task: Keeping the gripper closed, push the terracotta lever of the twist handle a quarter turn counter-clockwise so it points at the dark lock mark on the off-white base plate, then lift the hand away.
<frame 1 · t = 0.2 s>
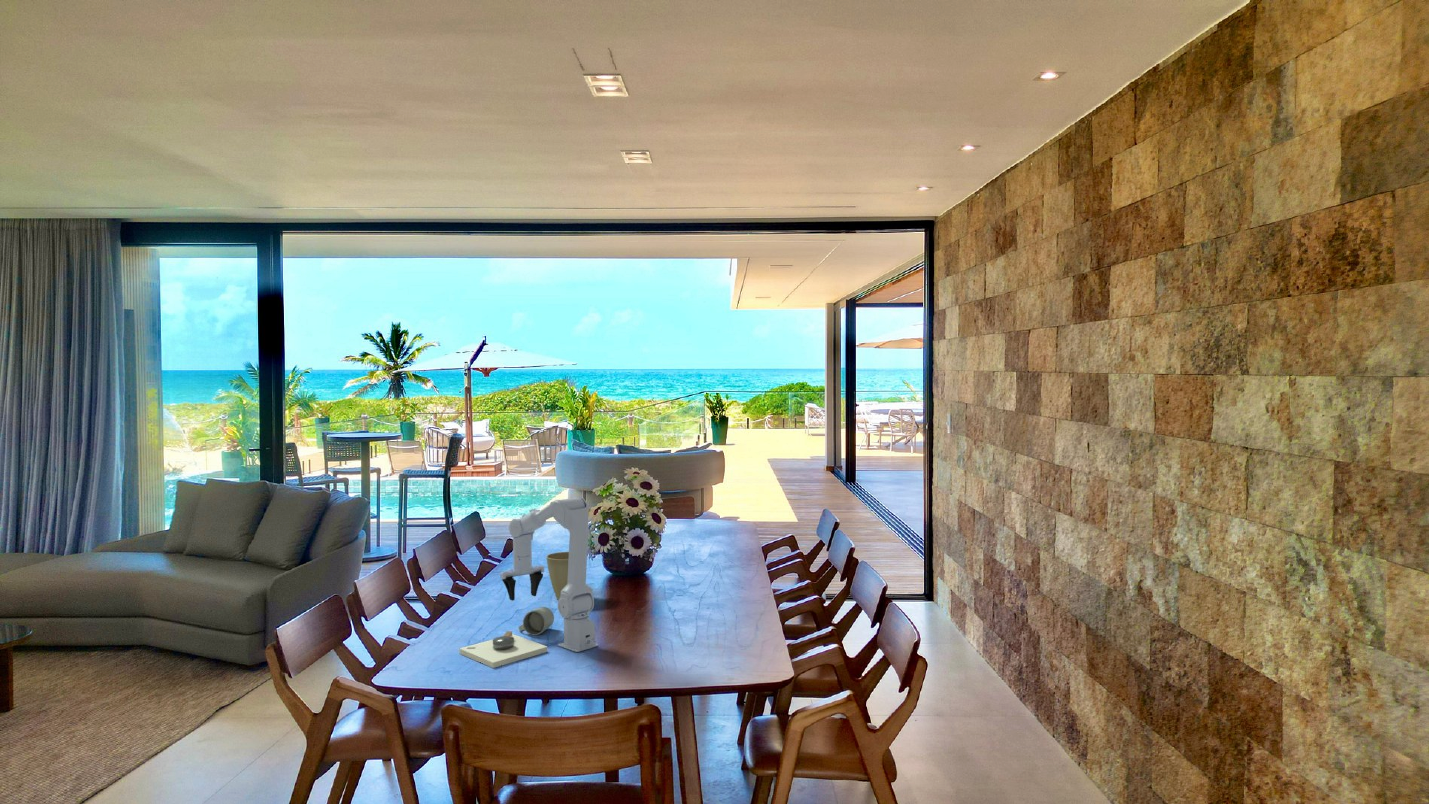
hand: (522, 597, 249), 10 cm above the table, tool pointing down, fingers open, 7 cm apart
plant pot: (567, 598, 286), on the table
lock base: (503, 652, 226), on the table
twist handle: (505, 640, 229), point 3 cm above the table, hinge at 0.0°
ceramic mug: (535, 632, 247), on the table
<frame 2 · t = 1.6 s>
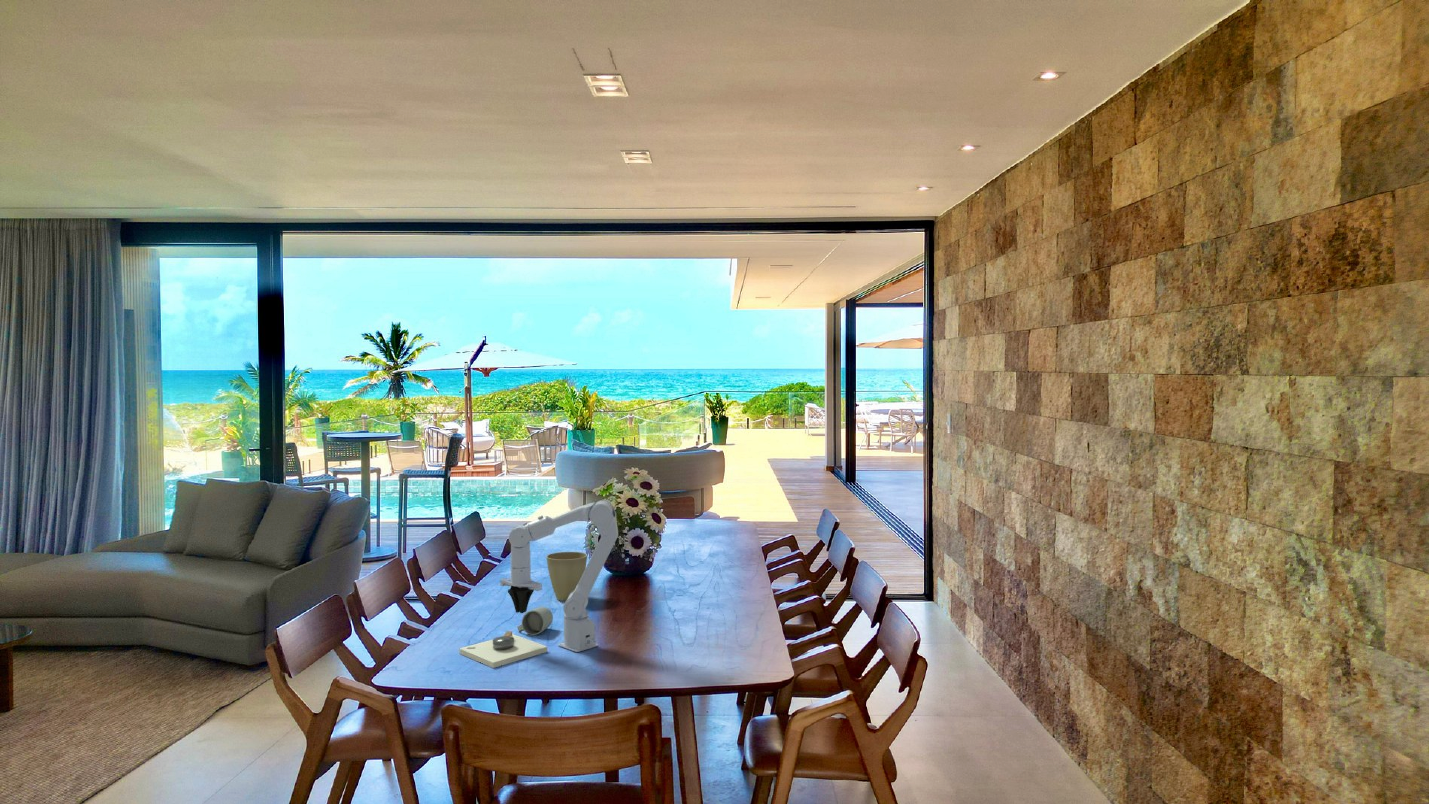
hand: (521, 612, 232), 10 cm above the table, tool pointing down, fingers closed
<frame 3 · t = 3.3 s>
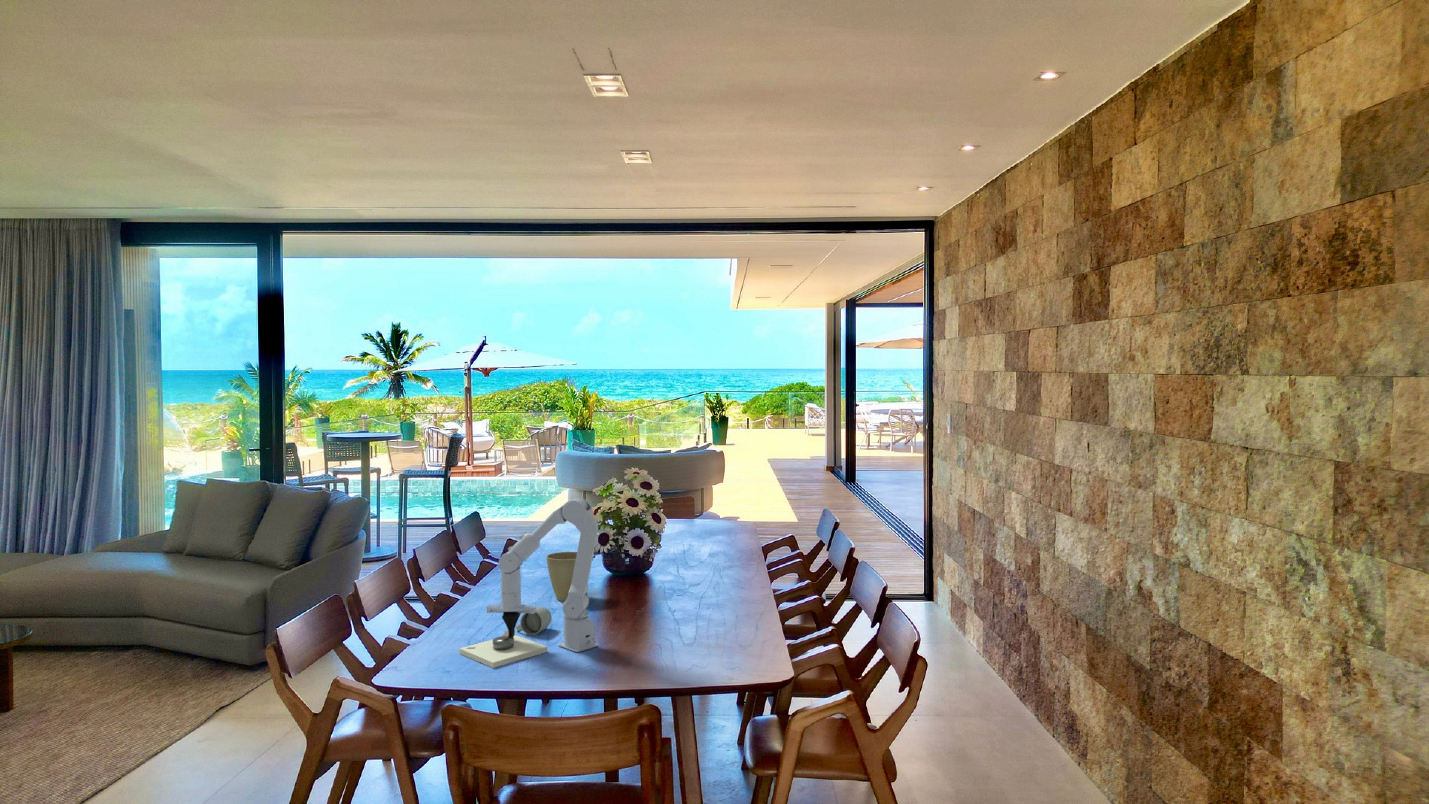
hand: (511, 636, 233), 3 cm above the table, tool pointing down, fingers closed, pressing on twist handle
twist handle: (504, 640, 229), point 3 cm above the table, hinge at 3.5°, touching gripper
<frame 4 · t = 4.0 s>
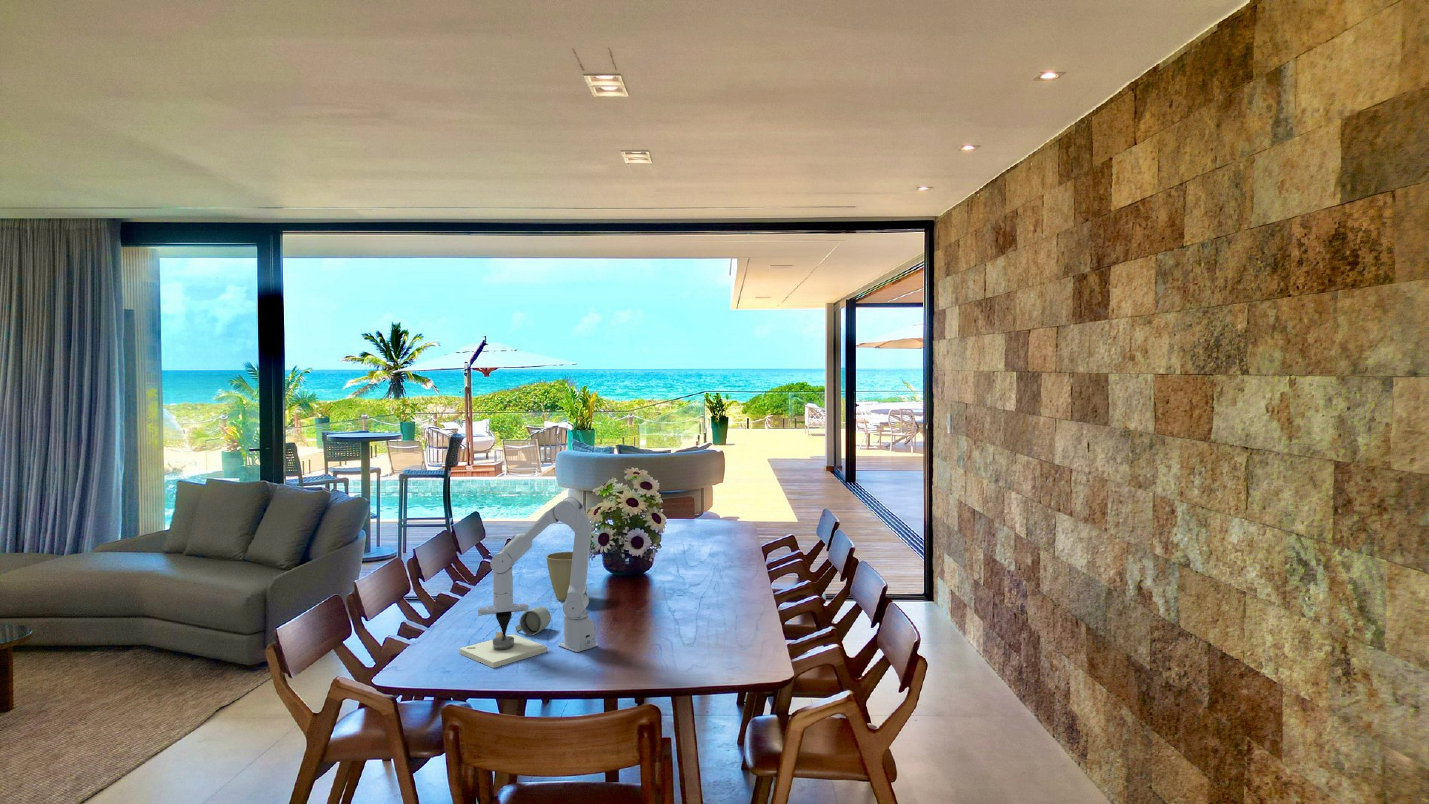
hand: (503, 637, 233), 3 cm above the table, tool pointing down, fingers closed, pressing on twist handle
twist handle: (501, 640, 229), point 3 cm above the table, hinge at 23.0°, touching gripper
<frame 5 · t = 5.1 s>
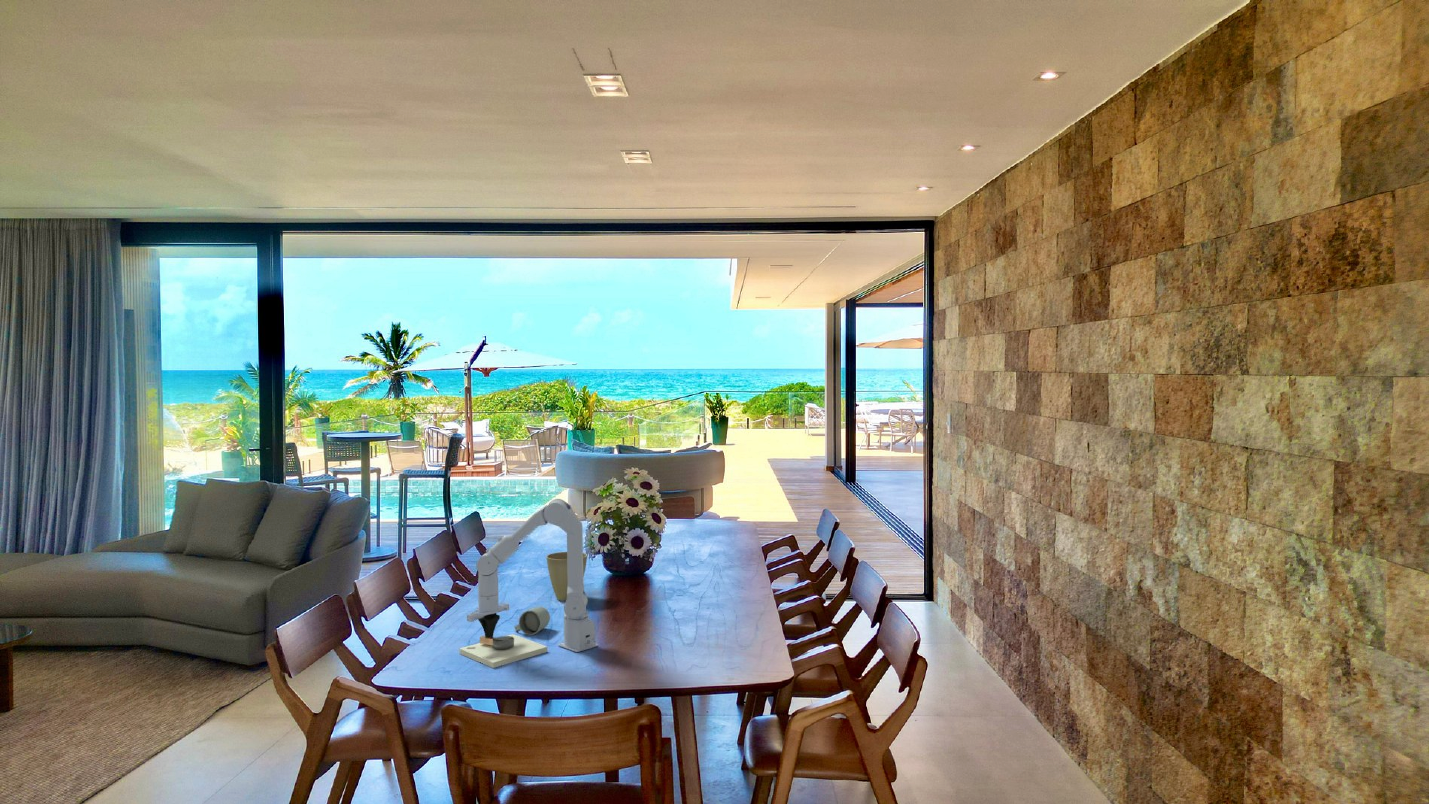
hand: (488, 639, 230), 3 cm above the table, tool pointing down, fingers closed, pressing on twist handle
twist handle: (496, 641, 227), point 3 cm above the table, hinge at 64.4°, touching gripper
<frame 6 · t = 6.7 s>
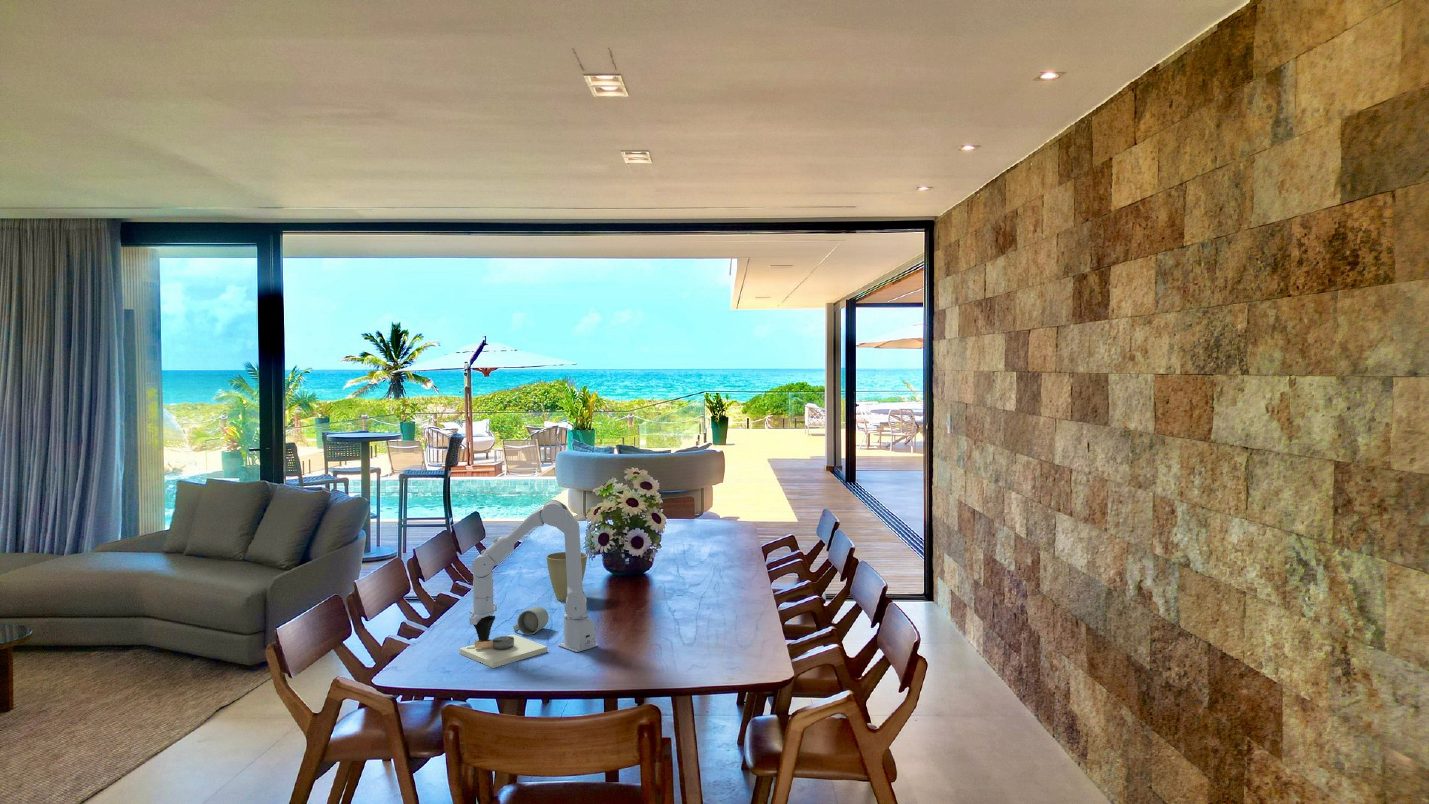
hand: (483, 642, 228), 3 cm above the table, tool pointing down, fingers closed
twist handle: (494, 643, 226), point 3 cm above the table, hinge at 96.5°
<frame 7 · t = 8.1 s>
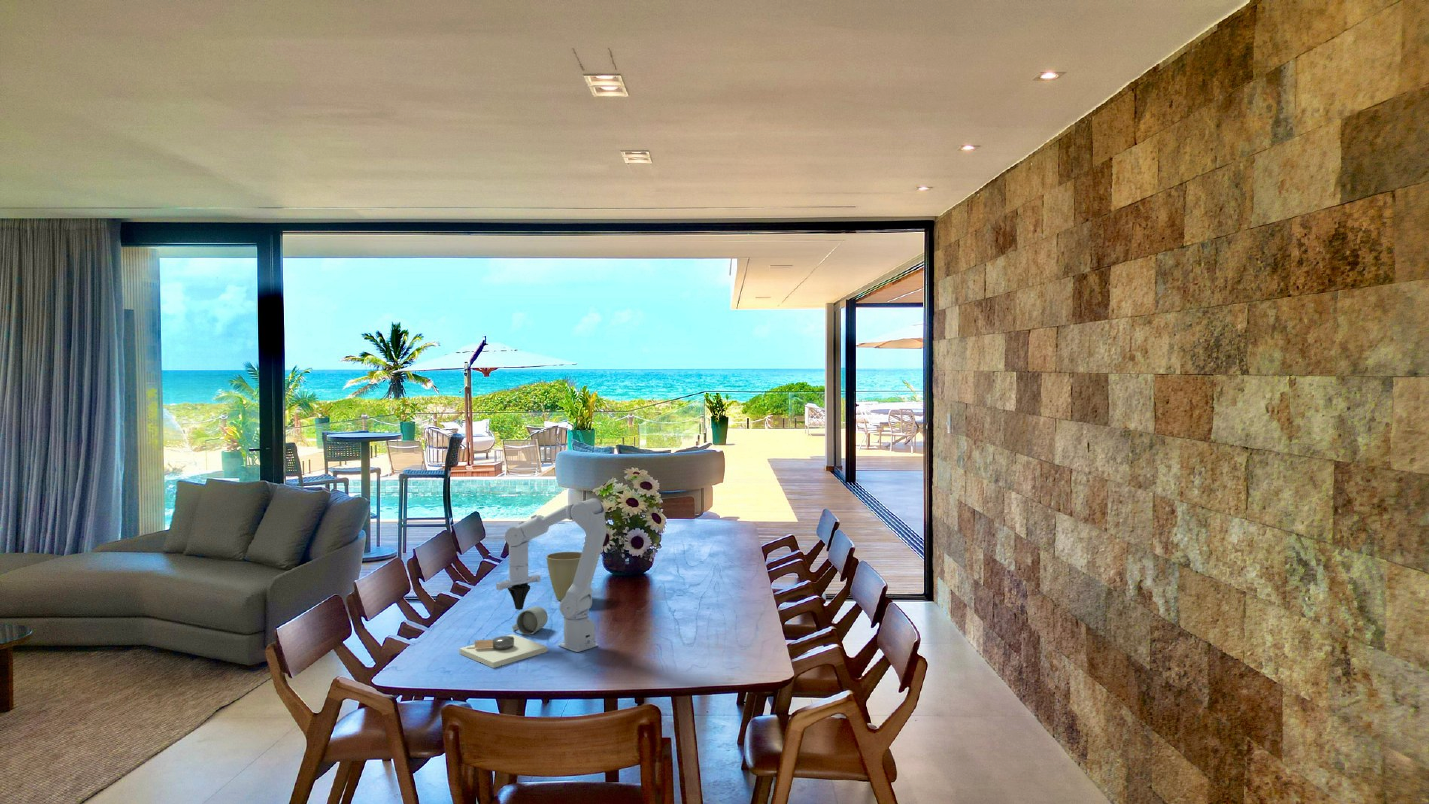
hand: (519, 609, 238), 9 cm above the table, tool pointing down, fingers closed
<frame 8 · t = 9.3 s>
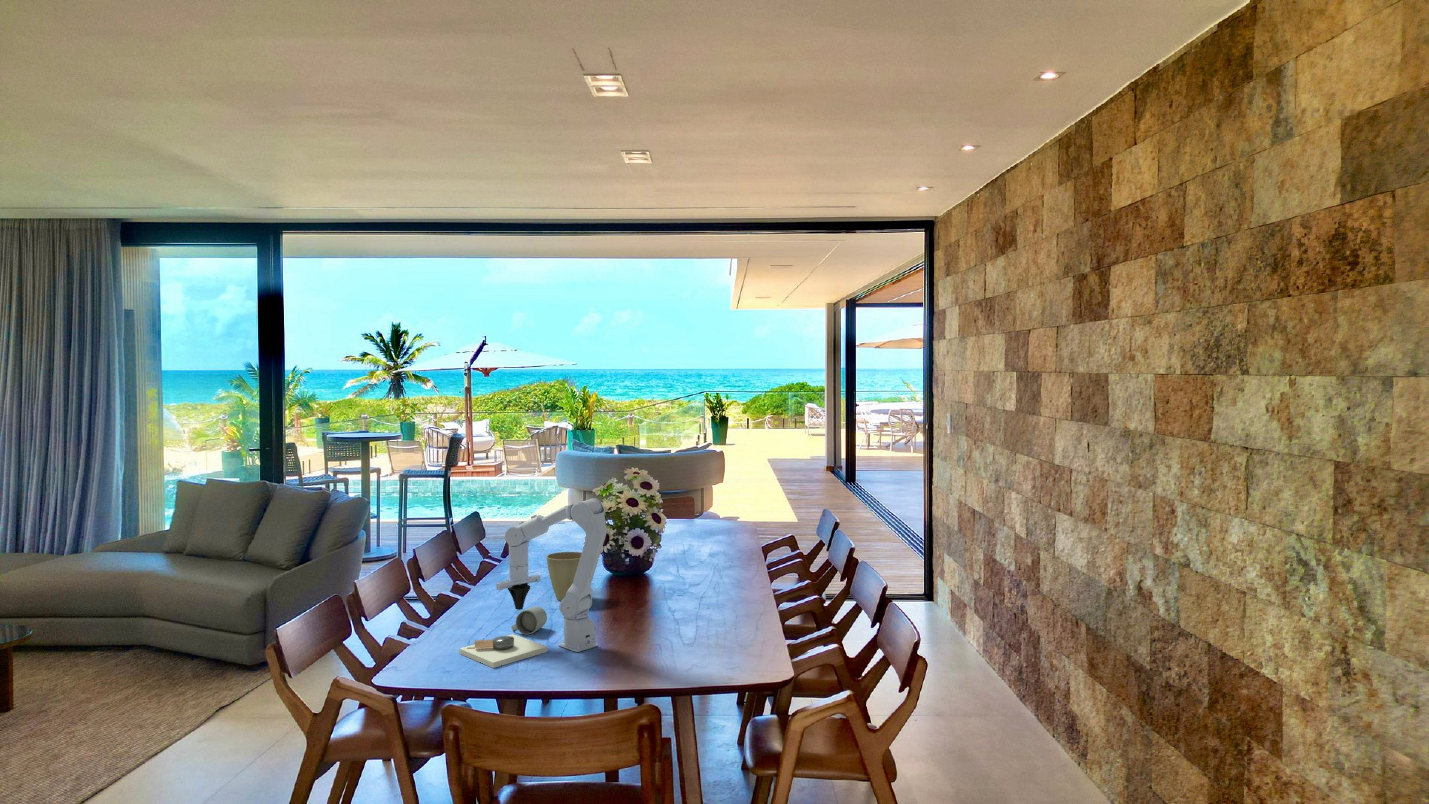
hand: (519, 609, 238), 9 cm above the table, tool pointing down, fingers closed
at the end: twist handle at +97° (first picture: +0°); the gripper is holding nothing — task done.
